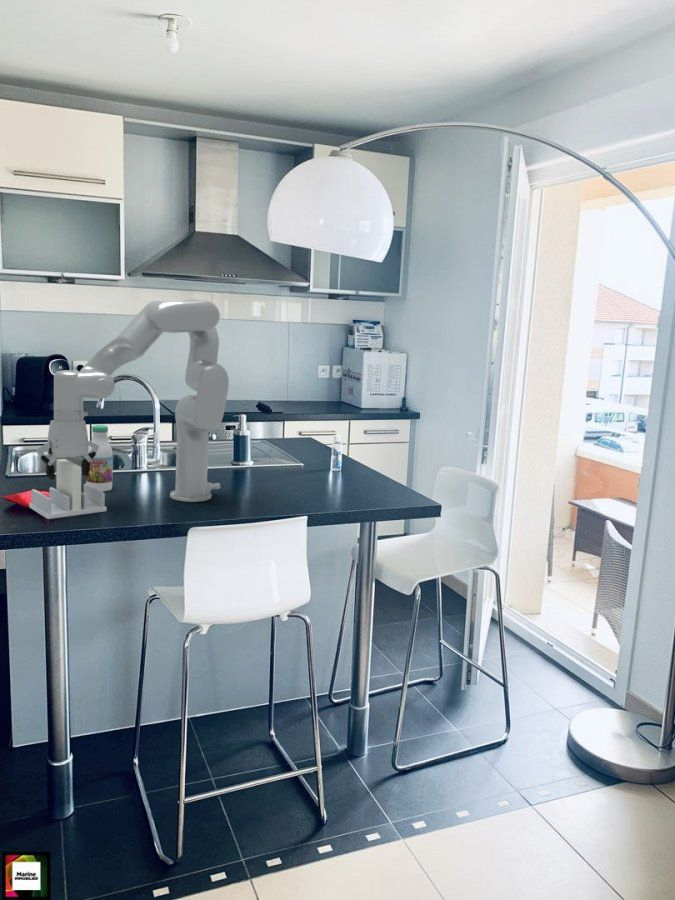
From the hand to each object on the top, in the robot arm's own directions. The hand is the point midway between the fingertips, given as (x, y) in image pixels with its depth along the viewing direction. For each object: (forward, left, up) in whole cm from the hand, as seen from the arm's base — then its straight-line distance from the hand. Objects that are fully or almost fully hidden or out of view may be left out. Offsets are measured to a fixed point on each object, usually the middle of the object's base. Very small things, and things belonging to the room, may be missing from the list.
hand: (68, 476), depth 207 cm
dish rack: (0, 0, -9) cm, 9 cm away
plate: (0, 0, -8) cm, 8 cm away
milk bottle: (-17, -17, -10) cm, 26 cm away
